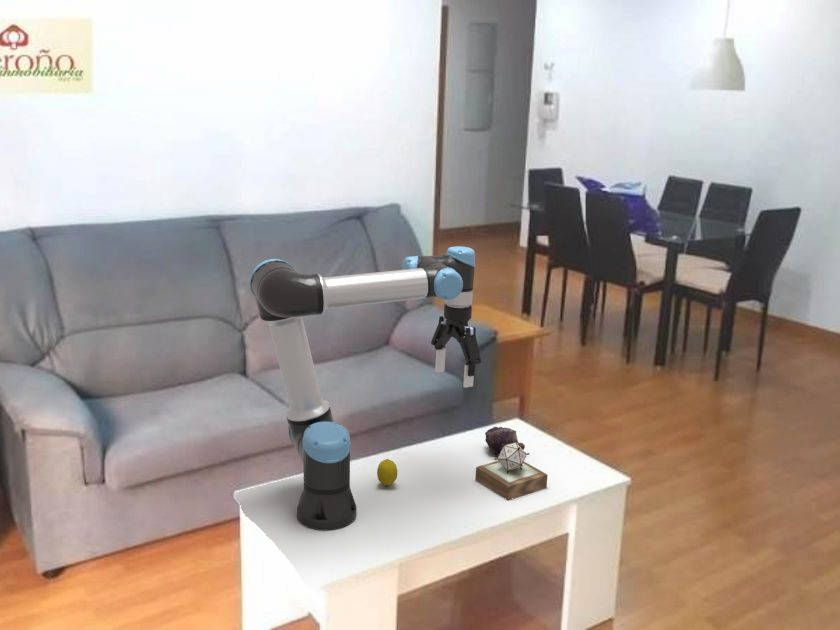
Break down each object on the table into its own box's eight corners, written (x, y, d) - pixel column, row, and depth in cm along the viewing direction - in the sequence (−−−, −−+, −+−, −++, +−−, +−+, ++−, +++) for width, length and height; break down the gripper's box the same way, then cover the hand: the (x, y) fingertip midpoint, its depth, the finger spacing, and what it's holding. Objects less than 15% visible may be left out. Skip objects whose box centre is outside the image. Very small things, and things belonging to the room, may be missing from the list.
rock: (500, 447, 267) (477, 455, 260) (498, 421, 265) (475, 428, 259) (528, 454, 258) (505, 463, 251) (527, 427, 257) (504, 434, 250)
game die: (504, 483, 239) (483, 456, 237) (515, 462, 245) (495, 436, 243) (529, 477, 233) (508, 450, 231) (539, 456, 239) (519, 429, 237)
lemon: (385, 492, 233) (385, 465, 231) (372, 484, 237) (373, 458, 235) (401, 486, 237) (401, 460, 235) (388, 479, 241) (389, 453, 239)
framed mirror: (507, 500, 231) (508, 485, 230) (475, 480, 242) (476, 466, 241) (546, 487, 239) (547, 473, 237) (513, 468, 250) (514, 455, 248)
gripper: (497, 314, 224) (492, 391, 230) (443, 292, 244) (439, 364, 250) (474, 317, 220) (469, 395, 226) (421, 295, 240) (417, 367, 246)
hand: (453, 379), depth 238 cm, fingers open, 13 cm apart
